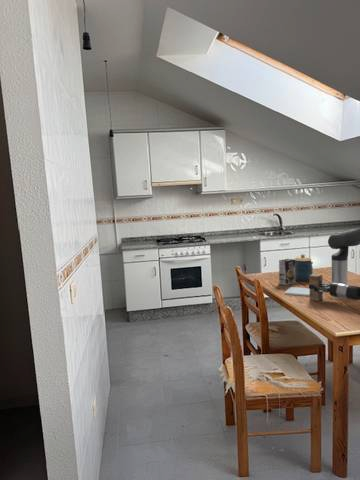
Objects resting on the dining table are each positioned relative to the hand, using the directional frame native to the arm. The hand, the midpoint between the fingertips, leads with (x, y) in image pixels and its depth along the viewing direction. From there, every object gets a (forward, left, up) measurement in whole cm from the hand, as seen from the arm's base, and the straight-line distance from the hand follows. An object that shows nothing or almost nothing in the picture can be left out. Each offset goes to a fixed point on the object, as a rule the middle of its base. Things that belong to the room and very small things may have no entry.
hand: (311, 285), depth 212 cm
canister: (-45, -15, -8) cm, 48 cm away
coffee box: (-30, -22, -8) cm, 38 cm away
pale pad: (-11, -10, -7) cm, 17 cm away
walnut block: (+1, +2, -7) cm, 8 cm away
